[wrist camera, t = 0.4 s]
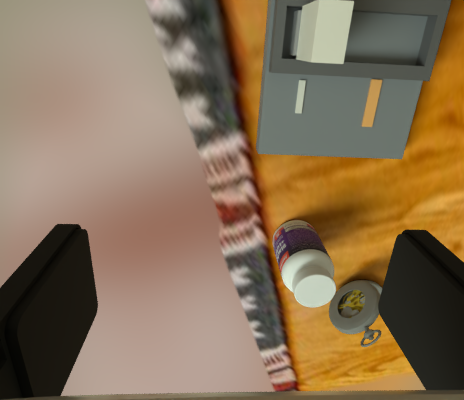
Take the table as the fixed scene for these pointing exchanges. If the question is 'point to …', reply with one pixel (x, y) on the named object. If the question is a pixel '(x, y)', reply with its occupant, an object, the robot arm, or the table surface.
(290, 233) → the pill bottle
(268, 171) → the table surface
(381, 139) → the console
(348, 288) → the pocket watch
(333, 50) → the fader
